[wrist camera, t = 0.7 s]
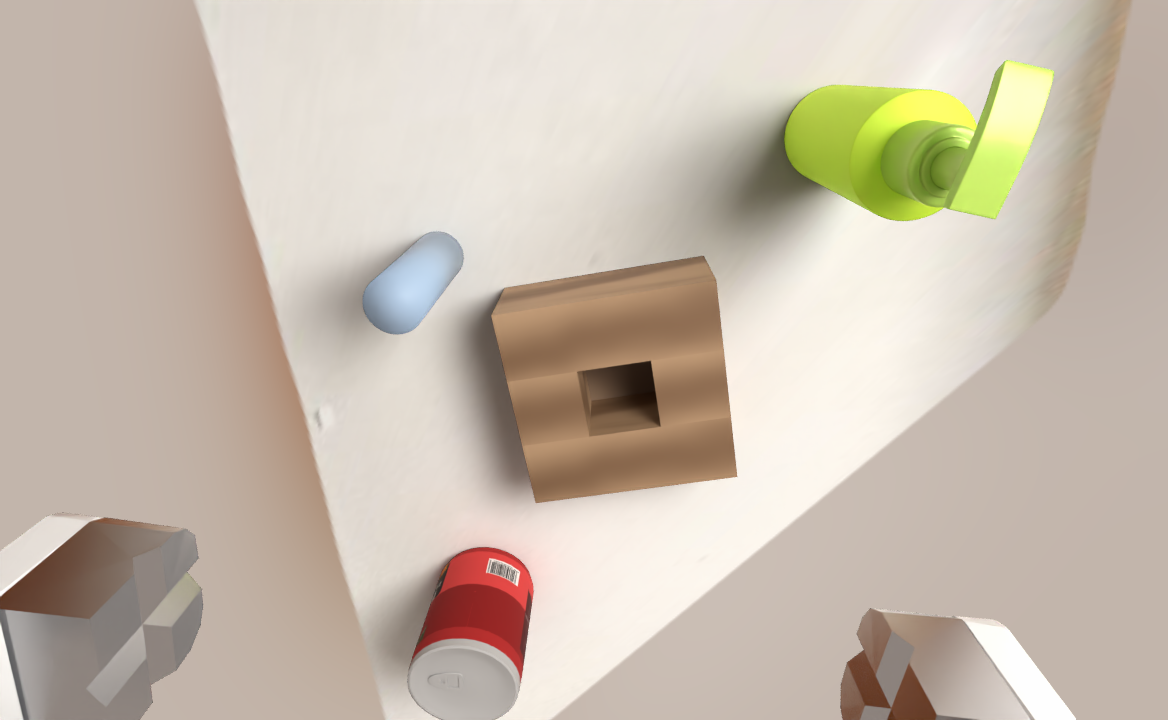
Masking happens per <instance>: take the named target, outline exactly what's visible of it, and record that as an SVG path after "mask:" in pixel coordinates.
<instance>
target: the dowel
mask: <svg viewBox="0 0 1168 720" xmlns="http://www.w3.org/2000/svg"><path fill="white" fill-rule="evenodd" d="M463 259H464V257H463V251H462V248H461V246H460V244H459V243H458V241H457V240H456V239H455V238H453V237H452V236H451V235H449V234H447V233H444V232H430V233H428V234H426V235H424V236H423V237H421V238H420V239H419V240H418V241H417V242H416V243H415V244H414V245H412V246H411V247H410V248H409V249H408V250H407V251H406V252H404V253H403V254H402V255H401V256H400V257H399V258H398V259H396V260H395V261H394V262H393V263H392V264H391V265H390V266H389V267H387V268H386V269H385V270H384V271H383V272H382V273H381V274H379V275H378V276H377V277H376V278H375V279H374V280H373V281H371V282H370V284H369V285H368V286H367V287H366V289H365V291H364V294H363V308H364V311H365V314H366V316H367V318H368V319H369V321H370V322H371V323H372V324H373V325H374V326H375V327H377V328H378V329H380V330H382V331H384V332H386V333H390V334H404V333H407V332H410V331H412V330H413V329H415V328H416V327H417V326H418V325H419V323H420V322H421V321H422V320H423V318H424V317H425V316H426V314H427V313H428V312H429V310H430V309H431V308H432V306H433V305H434V304H435V302H436V301H437V300H438V298H439V297H440V296H441V294H442V293H443V292H444V290H445V289H446V288H447V286H448V285H449V284H450V282H451V281H452V280H453V278H454V277H455V276H456V274H457V273H458V272H459V271H460V269H461V267H462V265H463Z"/></svg>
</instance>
